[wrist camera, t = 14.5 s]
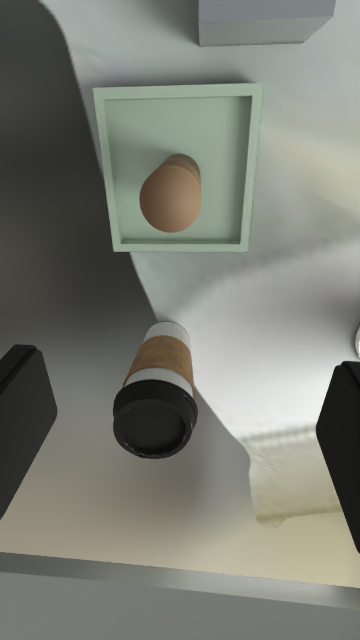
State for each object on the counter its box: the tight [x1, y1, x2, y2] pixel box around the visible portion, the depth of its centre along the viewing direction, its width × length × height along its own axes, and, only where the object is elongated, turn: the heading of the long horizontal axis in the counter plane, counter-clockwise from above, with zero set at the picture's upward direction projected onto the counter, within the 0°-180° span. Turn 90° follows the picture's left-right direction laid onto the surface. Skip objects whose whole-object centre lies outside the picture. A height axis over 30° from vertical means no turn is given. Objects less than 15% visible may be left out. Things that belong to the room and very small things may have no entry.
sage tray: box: [93, 83, 264, 252], centre depth 30 cm, size 14×14×2 cm
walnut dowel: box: [139, 154, 201, 233], centre depth 25 cm, size 4×4×12 cm
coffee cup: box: [113, 322, 198, 459], centre depth 35 cm, size 8×8×15 cm
